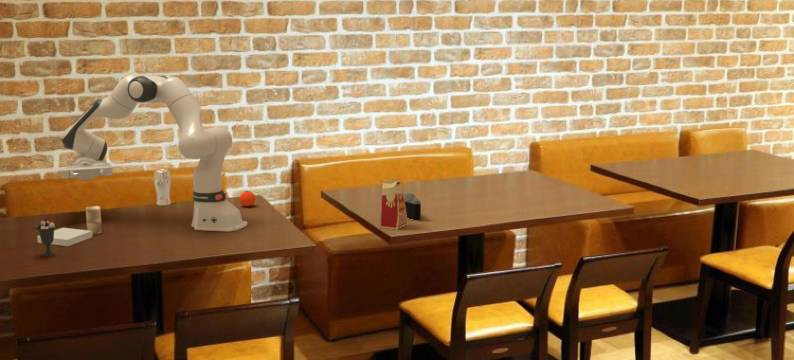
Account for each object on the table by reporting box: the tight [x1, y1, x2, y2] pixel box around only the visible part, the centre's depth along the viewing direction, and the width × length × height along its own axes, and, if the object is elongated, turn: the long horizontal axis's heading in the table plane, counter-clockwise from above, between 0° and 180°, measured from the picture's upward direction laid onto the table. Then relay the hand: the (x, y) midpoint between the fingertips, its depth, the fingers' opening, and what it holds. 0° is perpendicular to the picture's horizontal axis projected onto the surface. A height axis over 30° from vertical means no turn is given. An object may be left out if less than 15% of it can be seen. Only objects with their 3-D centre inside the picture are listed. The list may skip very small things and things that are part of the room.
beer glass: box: [153, 168, 172, 206], centre depth 419 cm, size 7×7×15 cm
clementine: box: [239, 190, 257, 208], centre depth 415 cm, size 8×7×7 cm
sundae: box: [35, 212, 57, 257], centre depth 340 cm, size 7×7×15 cm
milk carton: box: [379, 177, 408, 231], centre depth 378 cm, size 9×9×20 cm
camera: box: [403, 192, 422, 221], centre depth 395 cm, size 15×7×10 cm, turn 36°
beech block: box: [85, 205, 103, 235], centre depth 370 cm, size 5×5×10 cm
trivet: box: [36, 227, 94, 247], centre depth 361 cm, size 14×14×2 cm
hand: (87, 174), depth 378 cm, fingers open, 8 cm apart
